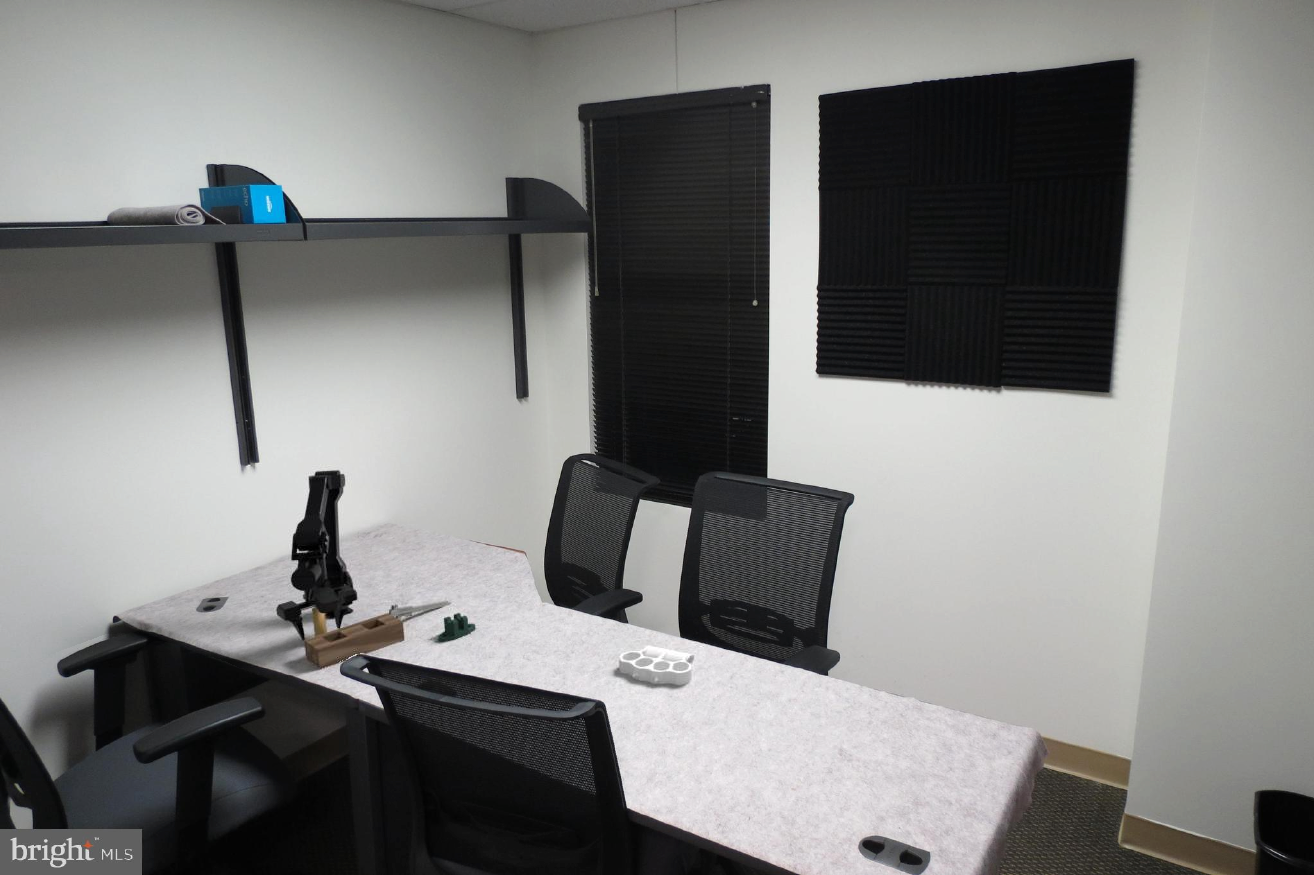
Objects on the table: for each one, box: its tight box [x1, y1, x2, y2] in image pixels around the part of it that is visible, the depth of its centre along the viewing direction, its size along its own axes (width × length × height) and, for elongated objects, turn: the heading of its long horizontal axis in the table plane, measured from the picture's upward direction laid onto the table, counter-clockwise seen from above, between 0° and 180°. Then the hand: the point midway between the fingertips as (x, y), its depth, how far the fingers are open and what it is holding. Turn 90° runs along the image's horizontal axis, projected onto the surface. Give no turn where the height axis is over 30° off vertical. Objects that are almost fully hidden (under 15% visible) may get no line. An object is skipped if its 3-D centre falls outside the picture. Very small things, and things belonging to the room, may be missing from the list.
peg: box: [311, 607, 328, 637], centre depth 228 cm, size 3×3×9 cm
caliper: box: [388, 599, 452, 621], centre depth 243 cm, size 20×1×6 cm, turn 143°
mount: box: [437, 612, 476, 643], centre depth 230 cm, size 11×4×5 cm, turn 137°
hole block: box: [303, 612, 405, 670], centre depth 223 cm, size 8×22×5 cm, turn 134°
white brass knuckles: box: [618, 645, 695, 686], centre depth 208 cm, size 3×18×15 cm
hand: (321, 634), depth 228 cm, fingers open, 9 cm apart
